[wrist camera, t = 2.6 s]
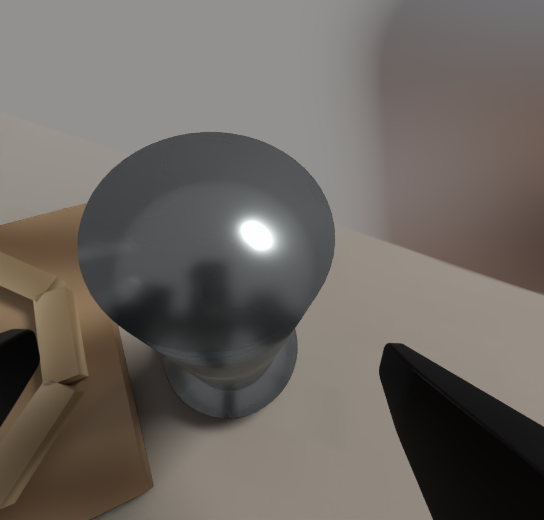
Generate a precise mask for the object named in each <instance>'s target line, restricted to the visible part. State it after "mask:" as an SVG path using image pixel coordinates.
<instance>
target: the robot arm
mask: <svg viewBox="0 0 544 520" xmlns="http://www.w3.org/2000/svg"><path fill="white" fill-rule="evenodd" d="M39 363H40V353H39V348H38V344H37V339H36V335H35V332H34V331H33V330H31V329H10V330H8V331H5V332H2V333H0V427H1V426H2V424H3V423H4V421H5V420H6V418H7V417H8V415H9V413H10V412H11V410H12V409H13V407H14V405H15V404H16V402H17V400H18V399H19V397H20V396H21V394H22V392H23V391H24V389H25V387H26V386H27V384H28V383H29V381H30V379H31V378H32V376H33V374H34V373H35V371H36V370H37V368H38V366H39ZM379 375H380V380H381V383H382V386H383V389H384V393H385V396H386V399H387V403H388V406H389V409H390V413H391V416H392V419H393V422H394V426H395V429H396V431H397V434H398V437H399V439H400V442H401V444H402V447H403V449H404V451H405V454H406V456H407V458H408V461H409V463H410V466H411V468H412V470H413V473H414V475H415V478H416V480H417V482H418V485H419V487H420V489H421V492H422V494H423V497H424V499H425V501H426V504H427V506H428V509H429V511H430V513H431V516H432V518H433V520H544V427H543V426H542V425H540V424H538V423H537V422H535V421H533V420H531V419H530V418H528V417H526V416H525V415H523V414H521V413H519V412H518V411H516V410H514V409H513V408H511V407H509V406H508V405H506V404H504V403H502V402H501V401H499V400H497V399H496V398H494V397H492V396H491V395H489V394H487V393H485V392H484V391H482V390H480V389H479V388H477V387H475V386H474V385H472V384H470V383H468V382H467V381H465V380H463V379H462V378H460V377H458V376H456V375H455V374H453V373H451V372H450V371H448V370H446V369H445V368H443V367H441V366H439V365H438V364H436V363H434V362H433V361H431V360H429V359H428V358H426V357H424V356H422V355H421V354H419V353H417V352H416V351H414V350H412V349H411V348H409V347H407V346H405V345H404V344H401V343H387V344H386V345H385V347H384V350H383V355H382V359H381V363H380V367H379Z"/></svg>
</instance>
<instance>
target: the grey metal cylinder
mask: <svg viewBox="0 0 544 520" xmlns="http://www.w3.org/2000/svg"><path fill="white" fill-rule="evenodd" d="M334 246H335V229H334V222H333V218H332V213H331V210H330V207H329V205H328V202H327V200H326V197H325V195H324V194H323V192H322V190H321V188H320V187H319V185H318V184H317V182H316V181H315V179H314V178H313V177H312V176H311V175H310V174H309V173H308V171H307V170H306V169H305V168H304V167H303V166H301V165H300V164H299V163H298V162H297V161H296V160H294V159H293V158H292V157H290V156H289V155H287V154H286V153H284V152H283V151H281V150H279V149H277V148H275V147H274V146H271V145H269V144H267V143H265V142H262V141H260V140H257V139H253V138H249V137H246V136H242V135H237V134H231V133H221V132H201V133H191V134H185V135H179V136H174V137H171V138H168V139H164V140H161V141H159V142H156V143H153V144H151V145H149V146H146V147H144V148H142V149H141V150H139V151H137V152H135V153H133V154H132V155H130V156H129V157H127V158H126V159H124V160H123V161H122V162H121V163H119V164H118V165H117V166H116V167H115V168H113V169H112V170H111V171H110V172H109V173H108V174H107V175H106V177H105V178H104V179H103V180H102V181H101V182H100V184H99V185H98V186H97V188H96V189H95V190H94V192H93V193H92V195H91V197H90V199H89V201H88V203H87V205H86V207H85V210H84V212H83V215H82V218H81V221H80V226H79V231H78V241H77V252H78V260H79V267H80V270H81V273H82V277H83V280H84V282H85V284H86V286H87V288H88V290H89V292H90V294H91V296H92V297H93V299H94V300H95V301H96V303H97V304H98V306H99V307H100V308H101V310H102V311H103V312H104V313H105V314H106V315H107V316H108V317H109V318H110V319H111V320H112V321H114V322H115V323H116V324H118V325H119V326H120V327H122V328H123V329H125V330H126V331H127V332H129V333H130V334H132V335H133V336H135V337H136V338H138V339H139V340H141V341H142V342H144V343H145V344H147V345H148V346H150V347H151V348H153V349H154V350H156V351H157V352H159V353H160V354H162V355H163V364H164V369H165V373H166V375H167V378H168V381H169V382H170V384H171V386H172V388H173V389H174V391H175V392H176V393H177V395H178V396H179V397H180V398H181V399H182V400H183V401H184V402H185V403H186V404H188V405H189V406H190V407H192V408H193V409H195V410H197V411H199V412H201V413H203V414H206V415H209V416H213V417H219V418H235V417H241V416H245V415H249V414H251V413H254V412H256V411H258V410H260V409H262V408H263V407H265V406H267V405H268V404H269V403H270V402H272V401H273V400H274V399H275V398H276V397H277V396H278V395H279V394H280V393H281V392H282V390H283V389H284V388H285V386H286V385H287V383H288V381H289V379H290V377H291V375H292V373H293V370H294V367H295V363H296V358H297V335H296V331H295V327H296V326H297V324H298V323H299V321H300V320H301V318H302V317H303V315H304V314H305V312H306V311H307V309H308V308H309V306H310V305H311V303H312V302H313V300H314V299H315V297H316V296H317V294H318V292H319V291H320V289H321V287H322V286H323V284H324V282H325V280H326V277H327V275H328V273H329V270H330V267H331V263H332V259H333V255H334Z"/></svg>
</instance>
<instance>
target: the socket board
mask: <svg viewBox="0 0 544 520" xmlns="http://www.w3.org/2000/svg"><path fill="white" fill-rule="evenodd" d="M86 205H87V204H82V205H78V206H74V207H70V208H66V209H62V210H58V211H54V212H50V213H47V214H43V215H39V216H35V217H31V218H27V219H23V220H19V221H15V222H11V223H7V224H4V225H0V333H2V332H5V331H8V330H10V329H31V330H33V331H34V332H35V335H36V339H37V344H38V348H39V353H40V363H39V366H38V368H37V370H36V371H35V373H34V374H33V376H32V378H31V379H30V381H29V383H28V384H27V386H26V387H25V389H24V391H23V392H22V394H21V396H20V397H19V399H18V400H17V402H16V404H15V405H14V407H13V409H12V410H11V412H10V413H9V415H8V417H7V418H6V420H5V421H4V423H3V424H2V426H1V427H0V520H90V519H92V518H94V517H96V516H98V515H100V514H102V513H104V512H106V511H108V510H110V509H112V508H115V507H117V506H119V505H121V504H123V503H125V502H127V501H129V500H131V499H133V498H135V497H137V496H139V495H141V494H143V493H145V492H148V491H149V490H150V489H151V488H152V487H153V482H152V477H151V473H150V468H149V464H148V459H147V455H146V450H145V446H144V441H143V437H142V432H141V428H140V423H139V419H138V414H137V410H136V405H135V401H134V396H133V392H132V387H131V383H130V378H129V374H128V369H127V364H126V360H125V355H124V351H123V346H122V342H121V337H120V333H119V328H118V324H116V323H115V322H114V321H112V320H111V319H110V318H109V317H108V316H107V315H106V314H105V313H104V312H103V311H102V310H101V308H100V307H99V306H98V304H97V303H96V301H95V300H94V299H93V297H92V296H91V294H90V292H89V290H88V288H87V286H86V284H85V282H84V280H83V277H82V273H81V270H80V267H79V260H78V252H77V241H78V231H79V226H80V221H81V218H82V215H83V212H84V210H85V207H86Z"/></svg>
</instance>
